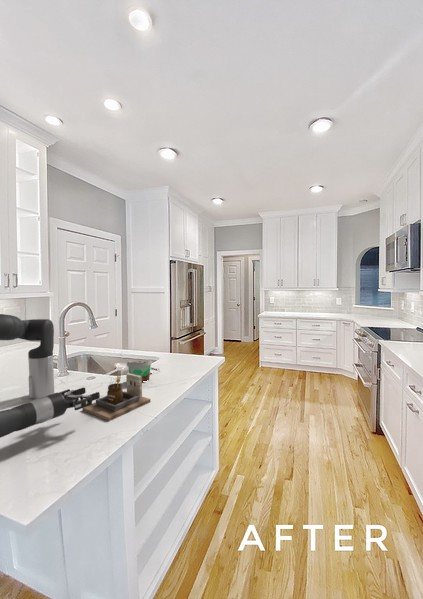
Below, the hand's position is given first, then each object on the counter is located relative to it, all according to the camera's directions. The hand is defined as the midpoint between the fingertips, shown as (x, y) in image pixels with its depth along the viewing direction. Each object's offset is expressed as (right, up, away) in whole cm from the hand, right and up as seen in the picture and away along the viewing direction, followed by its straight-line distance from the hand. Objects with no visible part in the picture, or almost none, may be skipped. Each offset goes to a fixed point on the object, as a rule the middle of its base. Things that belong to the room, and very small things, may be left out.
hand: (91, 392), depth 107 cm
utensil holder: (+5, -7, +10) cm, 13 cm away
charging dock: (+6, -8, +10) cm, 14 cm away
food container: (+8, -7, +38) cm, 40 cm away
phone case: (+8, -6, +57) cm, 58 cm away
